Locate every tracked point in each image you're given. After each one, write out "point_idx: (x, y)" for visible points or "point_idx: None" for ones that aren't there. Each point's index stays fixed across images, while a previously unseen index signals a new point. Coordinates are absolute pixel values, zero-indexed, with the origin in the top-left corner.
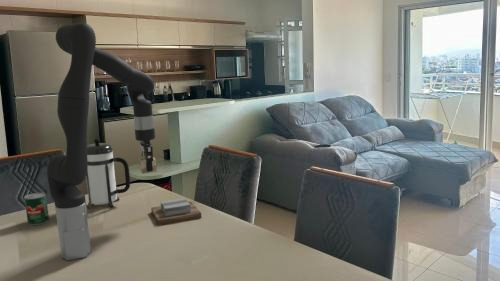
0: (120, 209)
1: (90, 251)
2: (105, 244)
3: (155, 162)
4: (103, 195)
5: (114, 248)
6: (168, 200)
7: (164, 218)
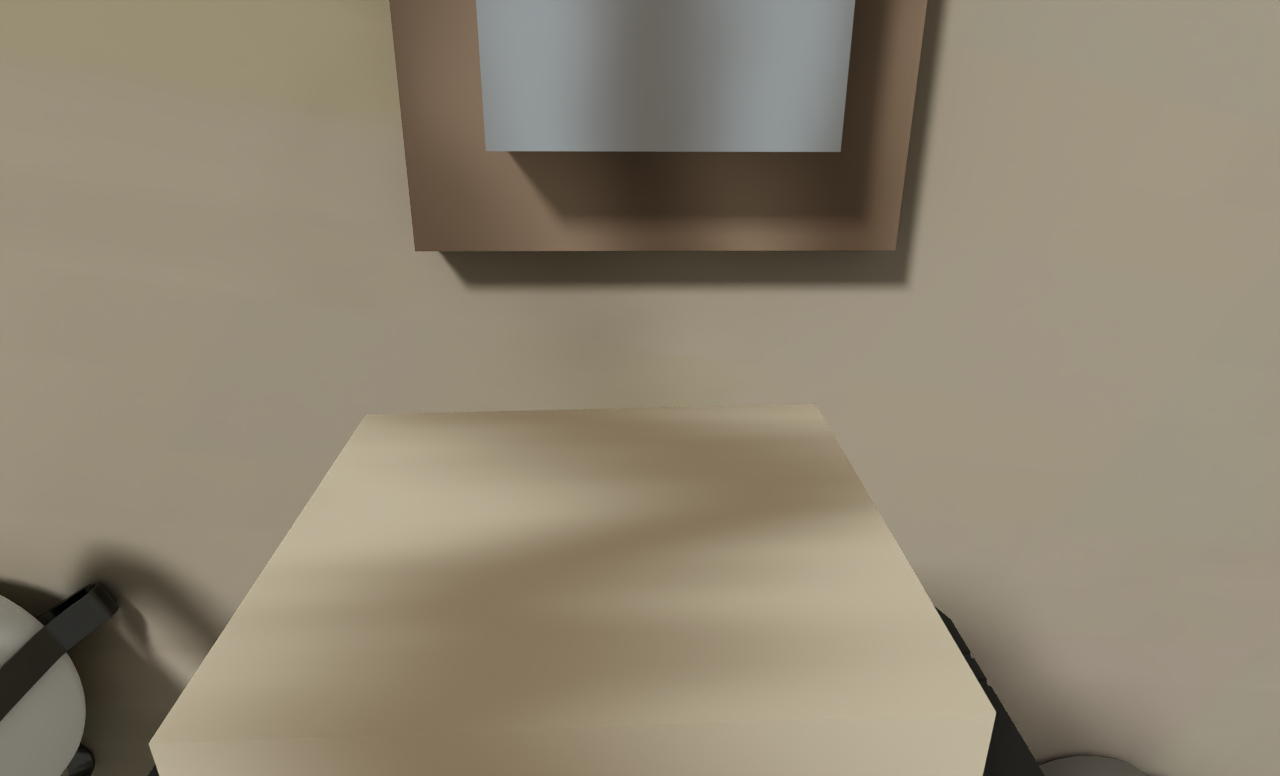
0: (203, 523)
1: (1118, 763)
2: (1030, 674)
3: (921, 606)
4: (23, 754)
5: (1149, 627)
6: (489, 23)
7: (885, 173)
